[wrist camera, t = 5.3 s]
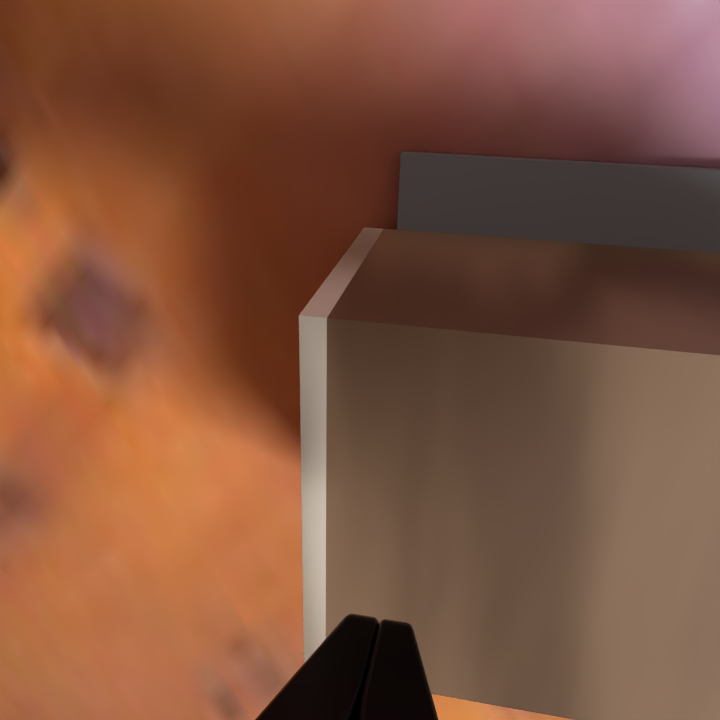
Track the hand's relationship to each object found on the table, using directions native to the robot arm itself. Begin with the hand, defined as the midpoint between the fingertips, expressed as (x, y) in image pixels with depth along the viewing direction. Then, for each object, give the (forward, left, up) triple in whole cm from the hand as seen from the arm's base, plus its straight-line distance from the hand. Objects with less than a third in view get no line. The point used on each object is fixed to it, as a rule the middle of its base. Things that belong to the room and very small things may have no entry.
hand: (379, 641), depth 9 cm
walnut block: (-2, 0, -5) cm, 5 cm away
